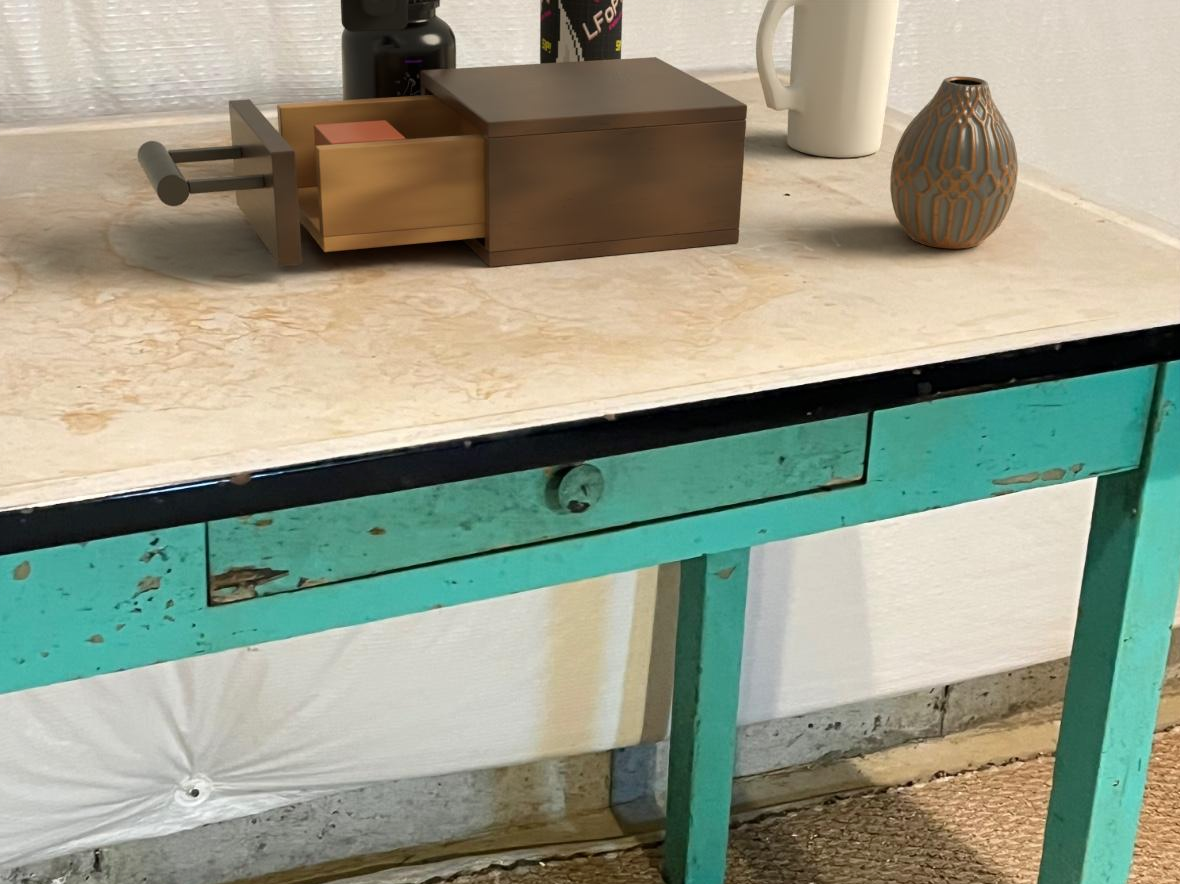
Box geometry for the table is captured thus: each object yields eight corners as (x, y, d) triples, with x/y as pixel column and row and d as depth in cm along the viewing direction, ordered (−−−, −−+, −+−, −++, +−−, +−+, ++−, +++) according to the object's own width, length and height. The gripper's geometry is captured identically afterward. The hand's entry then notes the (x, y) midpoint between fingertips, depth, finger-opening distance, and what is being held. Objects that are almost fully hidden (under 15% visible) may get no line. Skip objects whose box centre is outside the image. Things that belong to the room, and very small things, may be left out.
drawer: (171, 276, 85) (159, 160, 82) (138, 212, 94) (127, 106, 91) (530, 243, 91) (530, 134, 88) (466, 186, 100) (464, 86, 97)
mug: (845, 129, 118) (863, -54, 112) (904, 153, 113) (925, -38, 107) (722, 144, 114) (733, -46, 108) (778, 169, 108) (792, -29, 103)
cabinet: (489, 267, 90) (488, 122, 86) (423, 202, 100) (419, 70, 96) (738, 243, 95) (747, 104, 91) (651, 183, 105) (656, 56, 101)
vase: (925, 262, 92) (945, 99, 88) (862, 226, 98) (877, 71, 94) (1031, 251, 95) (1056, 90, 90) (964, 216, 100) (984, 64, 96)
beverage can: (576, 121, 118) (579, -63, 112) (523, 105, 122) (523, -73, 116) (636, 109, 122) (642, -69, 116) (582, 94, 125) (585, -79, 119)
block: (335, 218, 90) (331, 143, 88) (317, 198, 93) (313, 124, 91) (407, 212, 91) (405, 137, 89) (388, 192, 95) (385, 120, 93)
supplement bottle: (412, 198, 101) (406, -14, 95) (323, 179, 104) (311, -28, 98) (479, 173, 106) (477, -30, 100) (392, 156, 109) (385, -42, 103)
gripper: (220, -375, 85) (245, -15, 93) (296, -376, 71) (317, 48, 79) (367, -369, 87) (378, -19, 95) (468, -369, 73) (471, 41, 81)
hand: (350, 11), depth 87 cm, fingers open, 9 cm apart
